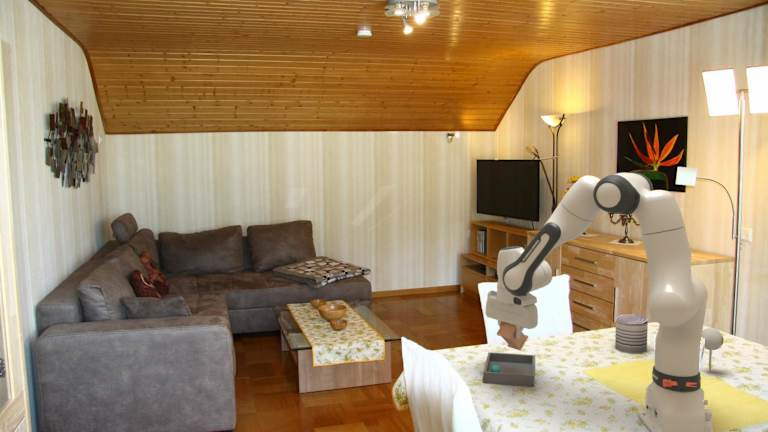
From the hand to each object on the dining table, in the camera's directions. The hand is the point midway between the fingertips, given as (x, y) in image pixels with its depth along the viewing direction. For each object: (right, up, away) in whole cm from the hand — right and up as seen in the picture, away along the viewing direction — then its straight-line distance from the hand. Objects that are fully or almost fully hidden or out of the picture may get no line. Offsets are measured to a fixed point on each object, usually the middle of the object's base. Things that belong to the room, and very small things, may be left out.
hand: (510, 335), depth 210 cm
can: (+49, -10, +24) cm, 56 cm away
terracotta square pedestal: (+3, -2, +2) cm, 5 cm away
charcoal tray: (0, -13, +2) cm, 13 cm away
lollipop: (+66, -12, -1) cm, 67 cm away
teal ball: (-5, -11, -1) cm, 12 cm away
